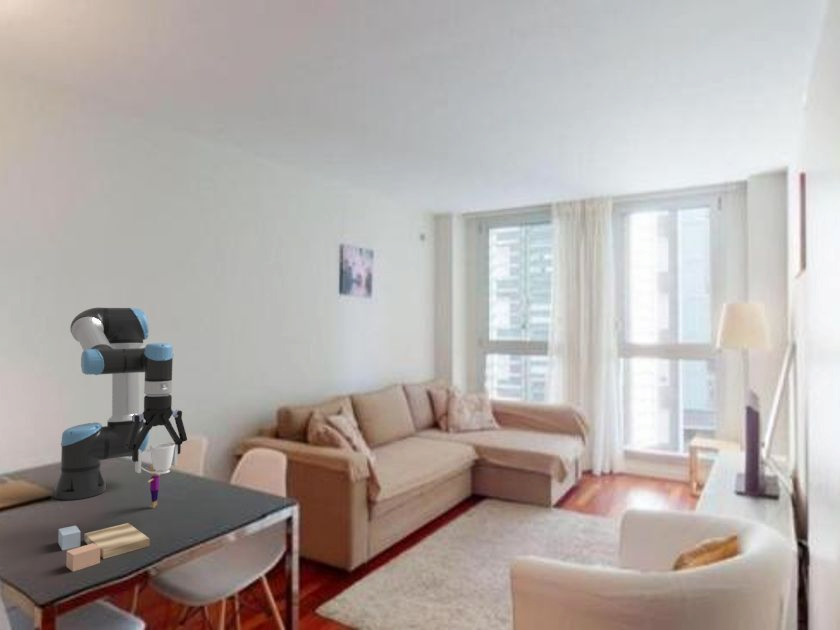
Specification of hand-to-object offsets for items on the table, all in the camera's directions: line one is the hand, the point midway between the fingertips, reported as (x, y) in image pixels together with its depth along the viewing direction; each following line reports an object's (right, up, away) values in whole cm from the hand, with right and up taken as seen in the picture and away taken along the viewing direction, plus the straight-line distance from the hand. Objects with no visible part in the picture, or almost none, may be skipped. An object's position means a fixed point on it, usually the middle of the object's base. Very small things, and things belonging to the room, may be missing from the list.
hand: (156, 468), depth 163 cm
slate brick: (-14, -15, -19) cm, 28 cm away
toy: (-5, -16, +11) cm, 20 cm away
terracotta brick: (-3, -15, -30) cm, 34 cm away
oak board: (-2, -15, -18) cm, 23 cm away
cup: (0, -1, 0) cm, 1 cm away
